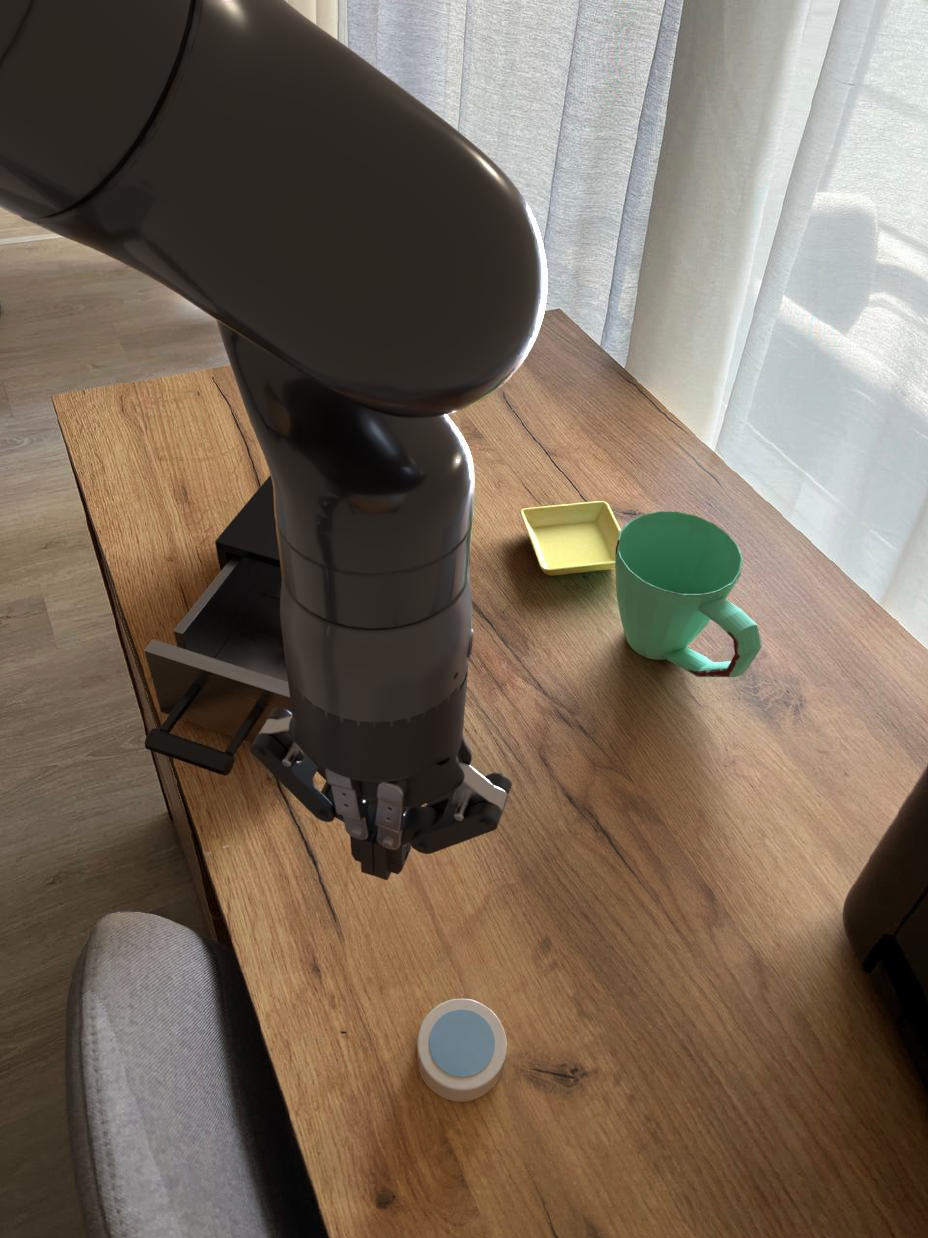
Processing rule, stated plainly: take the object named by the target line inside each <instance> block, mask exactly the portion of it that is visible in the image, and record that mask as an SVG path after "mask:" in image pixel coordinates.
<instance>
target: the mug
mask: <svg viewBox="0 0 928 1238" xmlns="http://www.w3.org/2000/svg"><path fill="white" fill-rule="evenodd" d="M620 530H621V531H620V532H619V536H618V541H617V546H616V552H615V568H614V571H615V575H614V576H615V589H616V590H615V591H616V600H617V605H618V611H619V617H620V621H621V625H622V628H623V632H624V635H625V639H626V642H627V643H628V646H630V648H631V649H632V650H633V651H634V652H635V653H637V654H638V655H639V656H642V657H644V658H646V659H651V660H655V661H656V660H659V661H663V660H666V661H668V662H671V663H672V664H674V665H675V666H677V667H679V668H681V669H683V670H684V671H686V672H687V673H689V674H691V675H693V676H695V677H696V678H737V677H740V676H741V675H743V674H744V673H745V672H746V671H748V669H749V667H750V666H751V664H752V663H753V661H754V660H755V659H756V657H757V655H758V653H760V650H761V649H762V648H763V642H762V639H761V638H762V637H761V634H760V629H759V625H758V623H756V622H755V621H754V620H753V619H752V618H751V616H749V615H748V614H747V613H746V612H745V611H743V610H742V609H741V608H740V607H739V606H736V605H735V604H734V603H732V602H731V601H730V600H729V599H727V598H728V596H729V595H730V594H731V592H732V591H733V589H734V587H735V586H736V585H737V583H738V581H739V580H740V578H741V574H742V572H743V571H742V570H743V561H744V558H743V556H742V553H741V549H740V547H739V545H738V544H737V543H736V542H735V540H734V539H733V537H731V536H730V534H729V533H727V532H726V531H725V530H724V529H722V528H721V527H719V526H718V525H717V524H715V523H714V522H711V521H709V520H706V519H704V518H702V517H700V516H697V515H694V514H689V513H685V512H681V511H662V510H661V511H654V512H649V513H644V514H640V515H639V516H637V517H635V518H633V519H631V520H629V521H627V523H626V524H625V525H624V526H623V527H622V528H621V529H620ZM711 621H713V622H714V623H716V624H717V625H718V626H719V627H720V628H722V630H723V631H724V632H725V633H726V634H727V635H728V636H729V637H730V638H731V639H732V643H733V650H734V654H733V656H732V659H731V660H729V661H715V660H713V659H711V658H709V657H706V656H704V655H703V654H701V653H699V652H697V651H695V650H693V649H691V648H689V647H688V646H689V645H690V644H691V643H692V642H693V641H694V640H695V639H696V638H697V637H698V636H699V634H700V633H702V631H703V630H704V629H705V628H706V627H707V626H708V625H709V623H710V622H711Z"/></svg>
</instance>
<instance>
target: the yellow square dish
mask: <svg viewBox="0 0 928 1238" xmlns="http://www.w3.org/2000/svg"><path fill="white" fill-rule="evenodd" d="M519 513H520V517H521V519H522V522H523V524H524V527H525V530H526V532H527V535H528V538H529V540H530V543H531V546H532V549H533V551H534V554H535V557H536V558H537V562H538V565H539V567H540V570H541V571H542V572H543V574H546V576H551V577H553V576H563V575H569V574H570V575H571V574H578V573H579V574H580V573H587V572H588V573H589V572H597V571H606V570H615V552H616V546H617V541H618V536H619V532H620V531H621V530H622V529H621V528H620V526H619V524H618V521H617V519H616V517H615V515H614V512H613V510H612V509H611V506H610V504H609V503H608V502H606V501H603V500H598V501H597V500H595V501H586V502H576V503H568V504H567V503H566V504H555V505H546V506H534V507H525V508H521V509H520V510H519Z"/></svg>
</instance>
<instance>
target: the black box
mask: <svg viewBox="0 0 928 1238" xmlns="http://www.w3.org/2000/svg"><path fill="white" fill-rule="evenodd" d="M214 542H215V543H214V544H215V550H216V556H217V560H218V561H217V562H218V566H219V573H220V572H221V570H222V569H223V568H224V567H225V565H226V564H227V563H228V562H229V560H230V559H231V558H232V557H233V555H234V554H235V555H238V556H242V557H245V558H249V559H252V560H255V561H259V562H262V563H266V564H269V565H272V566H276V567H279V568H281V566H280V557H279V549H278V540H277V532H276V523H275V514H274V495H273V484H272V479H271V475H270V474H269V476H268V477H267V478H266V479H265V480H264V482H263V483H262V484H261V485H260V487H258V489H257V490H256V491H255V493H254V494H253V495H252V496H251V497H250V498H249V500H248V501H247V502H246V504H244V506H243V507H242V508H241V509H240V511H239V512H238V513H237V514H236V515H235V516H234V518H233V519H232V520H231V521H230V522H229V524H228V525H227V526H226V527H225V529H224V530H223V531H222V532H221V533H220V535H219V536H218V537H217V538H216V540H214Z"/></svg>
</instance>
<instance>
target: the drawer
mask: <svg viewBox="0 0 928 1238" xmlns="http://www.w3.org/2000/svg"><path fill="white" fill-rule="evenodd" d="M281 585H282V576H281V568H279V567H276V566H272V565H269V564H266V563H262V562H259V561H255V560H252V559H249V558H245V557H242V556H238V555H235V554H234V555H233V557H232V558H231V559H230V560H229V562H228V563H227V564H226V565H225V567H224V568H223V569H222V570H221V572H220V571H219V573H218V574H217V575H216V577H215V578H214V579H213V580H212V582H211V583H210V584H209V585H208V587H207V588H206V589H205V590H204V592H203V593H202V594H201V595H200V596H199V598H198V599H197V600H196V601H195V603H194V604H193V606H191V608H190V609H189V610H188V611H187V613H186V614H185V615H184V617H183V618H181V620H180V622H178V624H177V625H176V627H175V628H174V629H173V636H174V640H175V644H176V645H174V644H171V643H167V642H164V641H160V640H159V639H154V638H152V639H151V640H150V641H149V643H148V644H147V645H146V647H144V649H143V651H144V652H143V653H144V656H145V660H146V663H147V667H148V671H149V674H150V677H151V681H152V684H153V688H154V691H155V692H154V693H155V695H156V699H157V702H158V706H159V710H160V713H162V714H165V715H168V716H167V717H166V718H165V720H164V721H163V722H162V723H161V725H160V726H159V728H156V727H155V728H152V729H150V730H149V731H148V732H147V734H146V737H145V740H144V747H145V749H146V750H147V751H151V752H153V753H157V754H159V755H163V756H164V757H168V758H171V759H173V760H177V761H179V762H182V763H186V764H188V765H191V766H195V767H198V768H200V769H203V770H206V771H208V772H212V773H214V774H216V775H217V774H218V775H220V776H223V777H227V776H228V775H230V773H231V772H232V770H233V768H234V766H235V762H236V758H235V757H236V755H237V753H238V751H239V750H240V749H241V747H242V745H243V743H244V742H248V743H251V744H252V743H253V741H254V740H255V738H256V737H257V735H258V733H259V732H260V730H261V728H262V727H263V725H264V723H265V722H266V720H267V718H268V717H269V715H270V713H271V712H272V710H273V709H274V708H276V707H281V708H284V709H286V710H288V711H289V712H291V713H292V710H291V702H290V694H289V685H288V678H287V670H286V662H285V654H284V646H283V638H282V629H281V620H280V597H281ZM180 720H182V721H185V722H189V723H191V724H195V725H198V726H200V727H204V728H206V729H208V730H209V729H210V730H213V731H215V732H218V733H221V734H225V735H227V736H229V737H232V739H231V740H230V742H229V743H228V745H227V746H226V747H225V749H224V751H223V750H221V749H218V748H215V747H212V746H209V745H207V744H203V743H200V742H197V741H195V740H192V739H189V738H185V737H183V736H180V735H176V734H175V733H171V732H172V731H173V729H174V728H175V726H176V725H177V724H178V722H179V721H180Z"/></svg>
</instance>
